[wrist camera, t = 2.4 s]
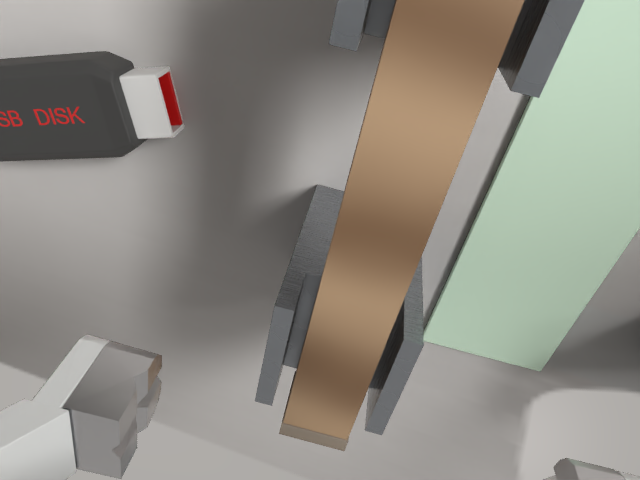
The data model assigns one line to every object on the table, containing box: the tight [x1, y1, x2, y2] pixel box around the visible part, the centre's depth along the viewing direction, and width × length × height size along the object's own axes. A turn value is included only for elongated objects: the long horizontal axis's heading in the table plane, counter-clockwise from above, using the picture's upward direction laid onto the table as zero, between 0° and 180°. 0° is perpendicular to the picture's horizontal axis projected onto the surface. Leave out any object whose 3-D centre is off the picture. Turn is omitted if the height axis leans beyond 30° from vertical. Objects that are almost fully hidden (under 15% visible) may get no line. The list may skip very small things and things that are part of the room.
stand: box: [255, 185, 424, 435], centre depth 26 cm, size 6×6×10 cm
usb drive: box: [0, 51, 185, 161], centre depth 27 cm, size 5×12×3 cm, turn 96°
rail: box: [279, 0, 524, 451], centre depth 17 cm, size 24×3×3 cm, turn 168°
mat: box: [423, 0, 640, 372], centre depth 25 cm, size 8×28×1 cm, turn 168°
